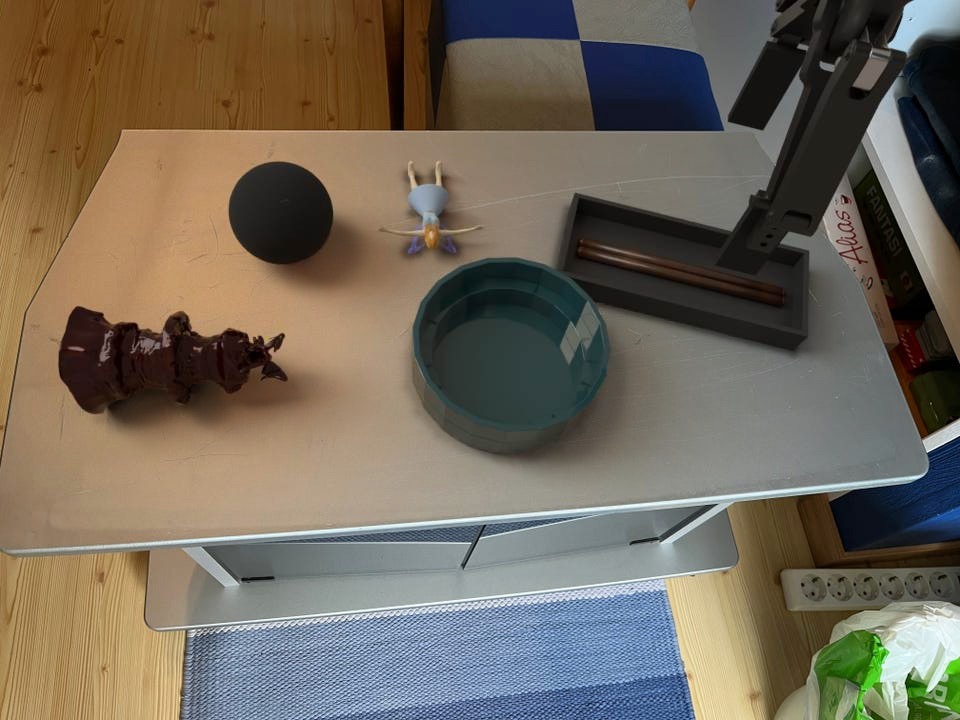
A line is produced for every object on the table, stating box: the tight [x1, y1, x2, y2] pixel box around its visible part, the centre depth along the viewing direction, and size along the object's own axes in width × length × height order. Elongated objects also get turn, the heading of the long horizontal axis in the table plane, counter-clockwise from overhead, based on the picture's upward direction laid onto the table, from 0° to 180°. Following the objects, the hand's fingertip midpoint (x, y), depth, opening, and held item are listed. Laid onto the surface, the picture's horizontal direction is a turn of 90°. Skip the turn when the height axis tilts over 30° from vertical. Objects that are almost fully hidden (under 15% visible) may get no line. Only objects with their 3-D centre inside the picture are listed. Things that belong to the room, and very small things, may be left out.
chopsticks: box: [575, 238, 787, 307], centre depth 80 cm, size 23×2×1 cm, turn 77°
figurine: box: [57, 305, 289, 415], centre depth 67 cm, size 10×10×18 cm
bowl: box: [410, 256, 611, 454], centre depth 71 cm, size 18×18×6 cm
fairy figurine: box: [375, 160, 487, 255], centre depth 80 cm, size 12×5×12 cm
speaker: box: [227, 160, 334, 266], centre depth 73 cm, size 10×10×10 cm
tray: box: [555, 192, 810, 352], centre depth 79 cm, size 11×26×3 cm, turn 77°
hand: (740, 190), depth 52 cm, fingers open, 13 cm apart
